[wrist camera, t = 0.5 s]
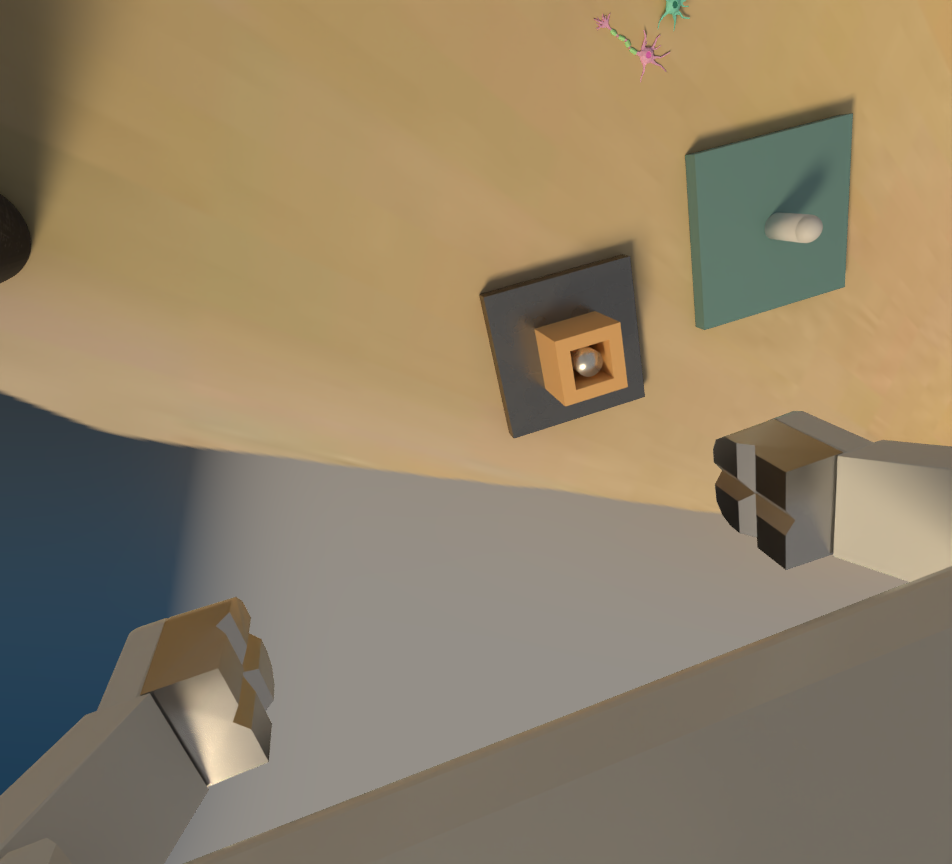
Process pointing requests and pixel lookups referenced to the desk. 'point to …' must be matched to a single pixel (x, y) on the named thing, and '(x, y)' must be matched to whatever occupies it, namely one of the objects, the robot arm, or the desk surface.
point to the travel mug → (12, 240)
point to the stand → (519, 361)
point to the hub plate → (746, 208)
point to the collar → (575, 335)
